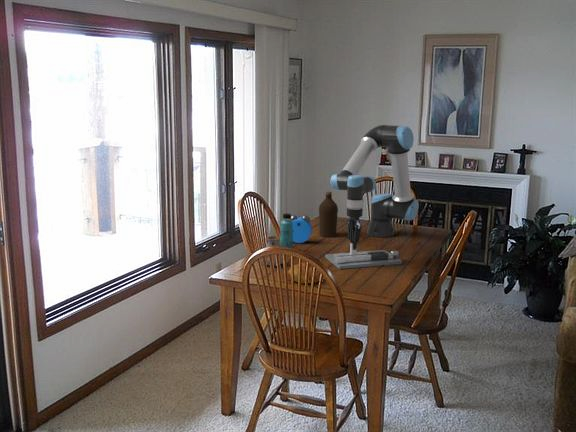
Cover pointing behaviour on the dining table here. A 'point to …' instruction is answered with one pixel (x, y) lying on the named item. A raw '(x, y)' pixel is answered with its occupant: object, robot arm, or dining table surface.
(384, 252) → the tong arm
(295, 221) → the alarm clock
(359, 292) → the dining table surface
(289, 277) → the croissant
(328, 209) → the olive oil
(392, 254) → the tongs fixed arm
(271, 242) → the coffee pot
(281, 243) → the beverage bottle
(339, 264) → the slate board
